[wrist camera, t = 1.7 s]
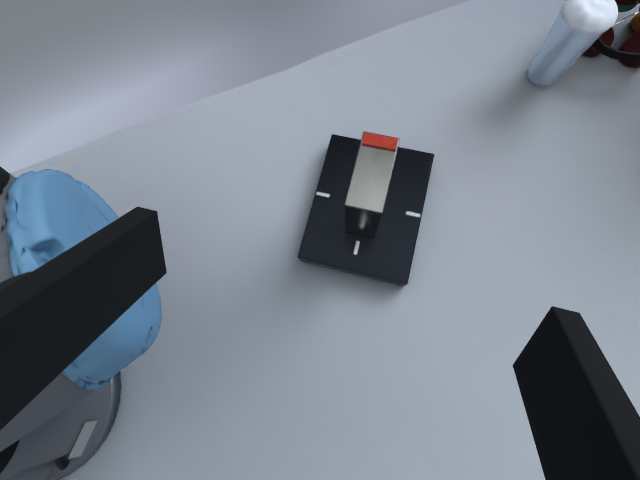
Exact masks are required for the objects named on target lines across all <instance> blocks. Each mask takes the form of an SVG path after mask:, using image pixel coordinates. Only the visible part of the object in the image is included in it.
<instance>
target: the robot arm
mask: <svg viewBox="0 0 640 480" xmlns="http://www.w3.org/2000/svg"><path fill="white" fill-rule="evenodd" d="M165 274H166V266H165V260H164V254H163V247H162V241H161V234H160V228H159V221H158V215H157V211H154V210H149V209H145V208H141V207H136V208H135V209H133V210H131V211H130V212H128V213H126V214H125V215H123V216H122V217H120V218H119V217H118V216H117V214H116V213H115V212H114V211H113V210H112V209H111V207H110V206H109V205H108V204H107V203H106V202H105V201H104V200H103V199H102V198H101V197H100V196H99V195H98V194H97V193H96V192H95V191H93V190H92V189H91V188H90V187H88V186H87V185H86V184H84V183H83V182H81V181H76V180H74V179H73V178H72V176H71V175H69V174H66V173H64V172H61V171H58V170H50V169H46V170H42V171H38V172H33V171H30V172H28V173H25V174H22V175H20V176H19V177H17V178H15V177H14V176H12V175H11V174H10V173H8V172H6V171H5V170H4V169H3V168H1V167H0V480H58V479H60V478H62V477H64V476H66V475H68V474H69V473H71V472H73V471H75V470H76V469H78V468H79V467H80V466H82V465H83V464H84V463H85V462H87V461H88V460H89V459H90V458H91V457H92V456H93V455H94V454H95V452H96V451H97V450H98V449H99V448H100V446H101V445H102V443H103V442H104V440H105V439H106V437H107V435H108V433H109V432H110V429H111V427H112V425H113V423H114V420H115V417H116V414H117V410H118V406H119V401H120V390H121V383H120V373H119V371H120V370H122V369H123V368H124V367H126V366H127V365H128V364H130V363H131V362H132V361H134V360H135V359H137V358H138V357H139V356H141V355H142V354H143V353H144V352H146V350H147V349H148V348H149V347H150V346H151V345H152V343H153V342H154V340H155V339H156V337H157V334H158V331H159V328H160V324H161V301H160V296H159V291H158V287H157V284H156V282H157V281H158V280H159V279H160V278H161V277H163V276H164V275H165ZM513 368H514V371H515V375H516V378H517V382H518V385H519V388H520V392H521V395H522V399H523V402H524V406H525V409H526V413H527V416H528V420H529V423H530V427H531V430H532V434H533V437H534V441H535V444H536V448H537V451H538V455H539V458H540V462H541V465H542V469H543V472H544V476H545V479H546V480H640V417H639V415H638V413H637V411H636V410H635V408H634V406H633V405H632V403H631V401H630V399H629V398H628V396H627V394H626V392H625V391H624V389H623V387H622V386H621V384H620V382H619V380H618V379H617V377H616V375H615V373H614V372H613V370H612V368H611V367H610V365H609V363H608V361H607V360H606V358H605V356H604V355H603V353H602V351H601V349H600V348H599V346H598V344H597V342H596V341H595V339H594V337H593V336H592V334H591V332H590V330H589V329H588V327H587V325H586V323H585V322H584V320H583V318H582V317H581V315H580V313H578V312H573V311H569V310H565V309H561V308H557V307H553V306H552V307H551V309H550V310H549V312H548V313H547V315H546V316H545V318H544V319H543V321H542V322H541V324H540V325H539V327H538V328H537V330H536V331H535V333H534V334H533V336H532V337H531V339H530V340H529V342H528V343H527V345H526V346H525V348H524V349H523V351H522V352H521V354H520V355H519V357H518V358H517V360H516V361H515V363H514V364H513Z"/></svg>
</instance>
